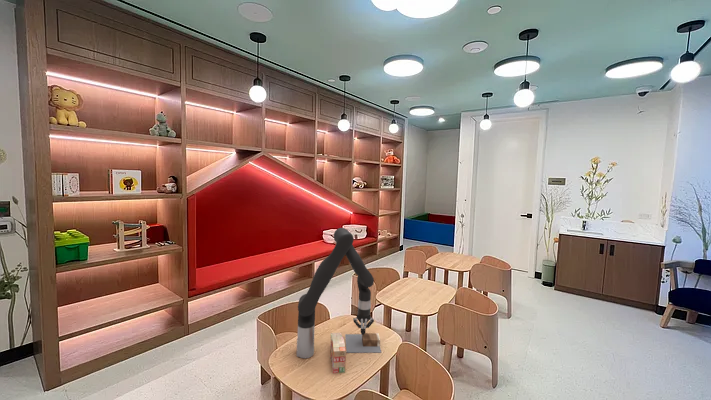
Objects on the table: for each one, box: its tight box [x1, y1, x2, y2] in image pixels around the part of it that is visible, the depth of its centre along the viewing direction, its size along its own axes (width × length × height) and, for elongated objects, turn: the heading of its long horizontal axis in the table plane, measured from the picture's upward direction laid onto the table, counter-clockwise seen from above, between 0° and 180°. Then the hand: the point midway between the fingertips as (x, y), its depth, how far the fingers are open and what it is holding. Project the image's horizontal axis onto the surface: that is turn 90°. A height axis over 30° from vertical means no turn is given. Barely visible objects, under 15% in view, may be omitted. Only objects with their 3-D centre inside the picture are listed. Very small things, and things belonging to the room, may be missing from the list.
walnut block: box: [362, 332, 381, 347], centre depth 174 cm, size 4×7×10 cm
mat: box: [344, 333, 382, 354], centre depth 173 cm, size 20×18×1 cm
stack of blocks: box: [330, 332, 347, 374], centre depth 157 cm, size 21×6×12 cm, turn 9°
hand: (362, 333), depth 173 cm, fingers closed
